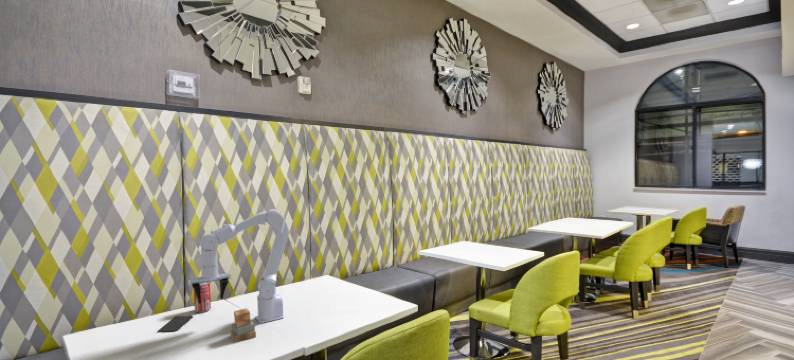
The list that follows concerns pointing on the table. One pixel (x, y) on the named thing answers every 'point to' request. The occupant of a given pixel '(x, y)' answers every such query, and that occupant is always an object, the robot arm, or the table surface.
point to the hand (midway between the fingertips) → (210, 300)
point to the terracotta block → (242, 317)
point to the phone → (175, 324)
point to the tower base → (243, 336)
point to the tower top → (243, 328)
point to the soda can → (203, 298)
